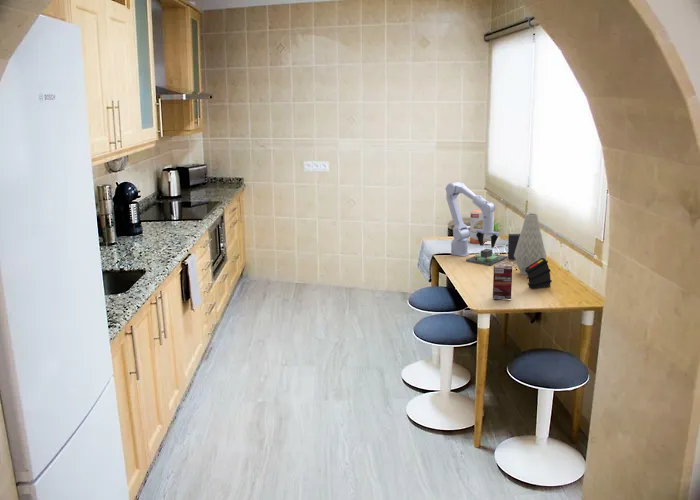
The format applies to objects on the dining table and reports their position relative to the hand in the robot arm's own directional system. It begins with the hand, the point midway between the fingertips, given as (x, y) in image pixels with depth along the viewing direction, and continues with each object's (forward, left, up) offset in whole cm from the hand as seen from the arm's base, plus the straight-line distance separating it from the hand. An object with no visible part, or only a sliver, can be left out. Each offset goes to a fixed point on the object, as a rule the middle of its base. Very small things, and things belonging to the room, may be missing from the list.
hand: (487, 246), depth 360 cm
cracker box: (-22, +31, -8) cm, 39 cm away
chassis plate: (0, 0, -8) cm, 8 cm away
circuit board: (0, 0, -7) cm, 7 cm away
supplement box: (+40, -54, -8) cm, 68 cm away
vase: (+32, -10, -8) cm, 35 cm away
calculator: (+14, +11, -8) cm, 20 cm away
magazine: (+46, -29, -8) cm, 55 cm away
